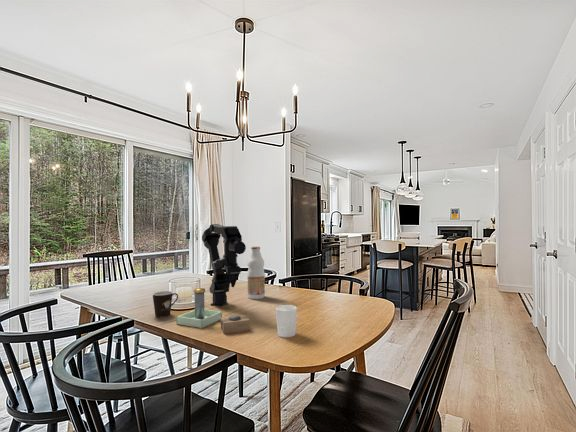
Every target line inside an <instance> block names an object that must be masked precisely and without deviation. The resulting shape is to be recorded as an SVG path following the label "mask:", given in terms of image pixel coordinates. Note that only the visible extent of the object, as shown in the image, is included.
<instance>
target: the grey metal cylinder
mask: <svg viewBox="0 0 576 432" xmlns="http://www.w3.org/2000/svg"><path fill="white" fill-rule="evenodd" d="M205 292H206V289H205V287H204V288H203V287H202V288H201V287H199V288H197V287H196V288H194V289H193V293H194V310H195V319H201V320H202V319H204V318H205V310H204V309H205Z"/></svg>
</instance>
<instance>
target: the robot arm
mask: <svg viewBox="0 0 576 432" xmlns="http://www.w3.org/2000/svg"><path fill="white" fill-rule="evenodd" d="M221 237H222V239H223V240H222V243H223V244H224V245H223V247H224V249H223V250H224V254H223V255H222V257H220V253H219V247H218V246H219V243H220V238H221ZM201 241H202V242H203V245H204V247H205V248H206V249H207V250H208V254H209V259H210V263H211V268H212V272H213V276H212V279H211V284H210V287H209V289H208V290H209V293H210V294H212V303H210V306H216V307H217V306H218V307H222V306H225V305H227V304H229V302H228V296H227V293H229V292H230V287H231V288H235V286H236V283H237V281H238V278H239V276H240V274H241V273H242V268H241V266H239V264H238V260H237V258H238V257H239V256H238V255H243V254H244V253H245V252H246V249H247V246H246V244H245V243H244V241H243V236H242V234H241V232H240V229H239V228H238V226H237V225H233V226H232V225H228V226H227V225H226V226H225V225H221V224H219V223H213V224H210V225H209V227H208V228H207V229H206V230H204V232H203V233H202V235H201Z"/></svg>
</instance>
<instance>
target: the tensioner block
mask: <svg viewBox="0 0 576 432" xmlns="http://www.w3.org/2000/svg"><path fill="white" fill-rule="evenodd" d="M220 329H221V331H222V333H223V334H230V333H238V332H239V333H241V332H245V331H250V319H249V318H248V317H247V316H246V314H244V315H242V314H241V315H238V314H237V315H235V314H234V315H230V316H227V317H226V316H225V317H222V318H221V319H220Z"/></svg>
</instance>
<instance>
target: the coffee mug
mask: <svg viewBox="0 0 576 432" xmlns="http://www.w3.org/2000/svg"><path fill="white" fill-rule="evenodd" d="M174 295H175V296H176V299H175V300H174V301H173V296H174ZM178 299H179V294H178V293H177V292H176V293H175V292H174V293H173V291H171V290H162V291H156V292H153V293H152V300H153V309H154V314H155V315H154V317H156V318H165V317H169V316H171V313H172V312H171V311H172V306H173V305H175V304H176V302H177V301H178Z"/></svg>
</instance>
